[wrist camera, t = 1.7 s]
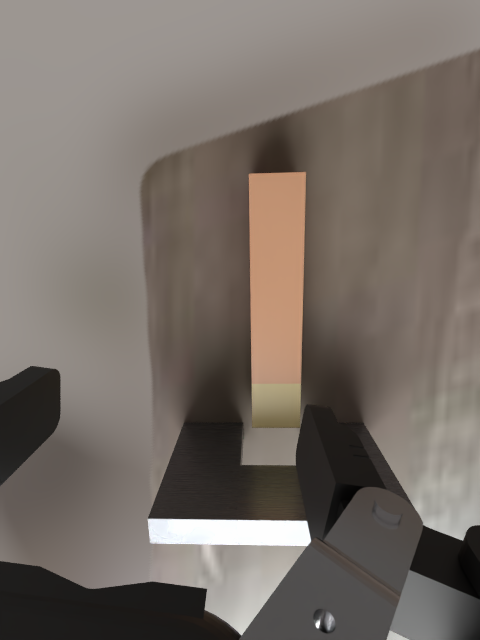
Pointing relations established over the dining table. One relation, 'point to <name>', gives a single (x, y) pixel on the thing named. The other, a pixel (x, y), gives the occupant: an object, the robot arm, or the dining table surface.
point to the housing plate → (236, 492)
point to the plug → (276, 296)
